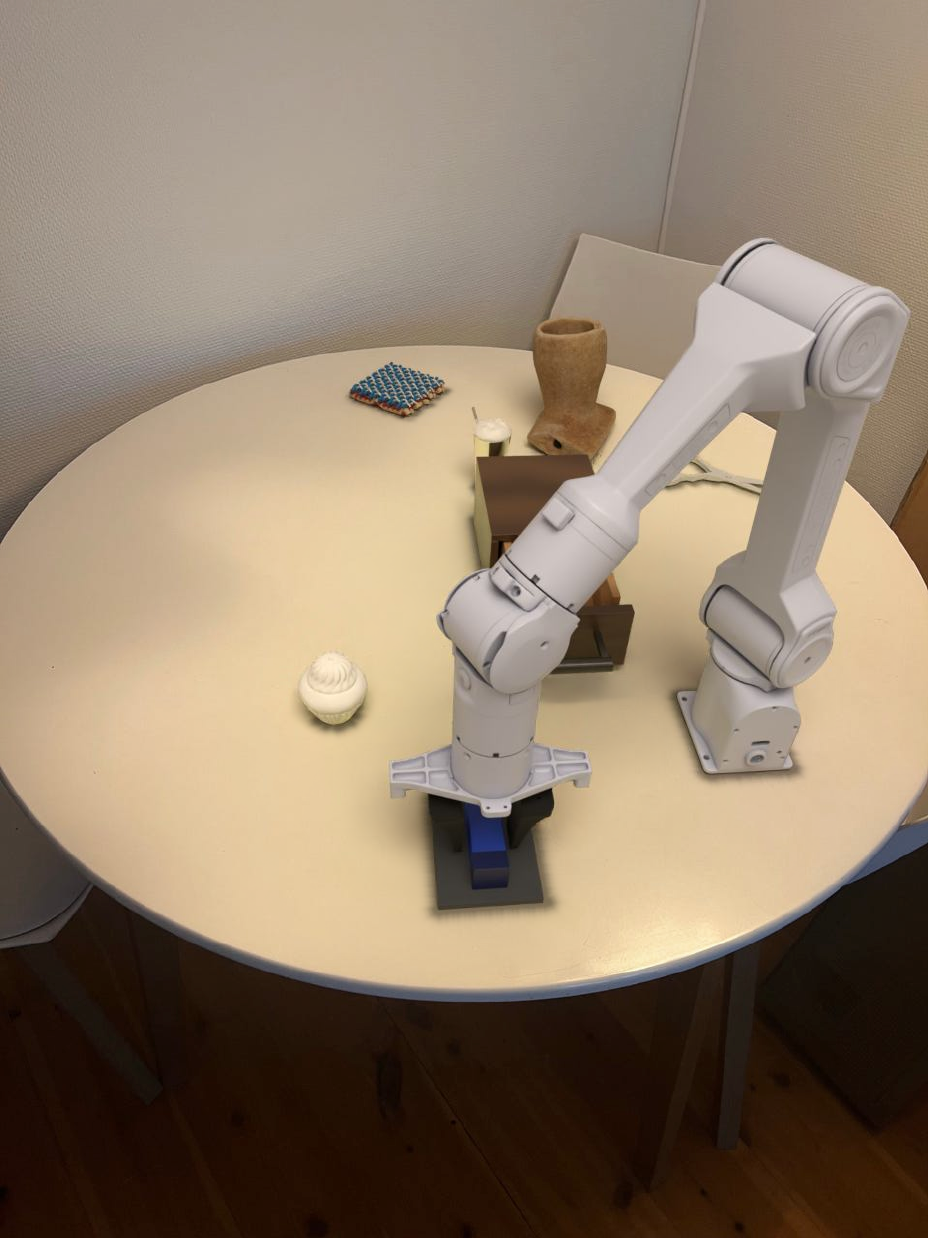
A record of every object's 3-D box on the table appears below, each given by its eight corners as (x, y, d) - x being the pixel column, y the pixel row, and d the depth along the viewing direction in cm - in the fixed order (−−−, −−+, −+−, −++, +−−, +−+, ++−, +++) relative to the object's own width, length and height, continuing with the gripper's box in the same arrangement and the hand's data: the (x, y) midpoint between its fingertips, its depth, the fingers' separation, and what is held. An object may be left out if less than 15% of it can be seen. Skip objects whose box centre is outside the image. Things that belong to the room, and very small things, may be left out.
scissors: (657, 436, 118) (810, 474, 112) (656, 442, 118) (809, 479, 112) (634, 475, 110) (797, 517, 104) (633, 481, 111) (795, 523, 105)
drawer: (635, 700, 82) (647, 648, 77) (513, 706, 81) (519, 653, 76) (595, 576, 95) (604, 525, 91) (490, 580, 94) (494, 528, 90)
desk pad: (543, 902, 67) (543, 898, 67) (438, 910, 66) (438, 906, 66) (524, 795, 75) (524, 791, 74) (429, 801, 74) (429, 796, 73)
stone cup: (542, 401, 126) (552, 297, 116) (623, 420, 122) (640, 314, 112) (502, 451, 115) (510, 342, 105) (589, 473, 112) (606, 362, 102)
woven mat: (448, 390, 127) (449, 377, 126) (406, 420, 120) (406, 407, 119) (390, 371, 131) (389, 358, 130) (345, 399, 124) (345, 386, 123)
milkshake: (480, 471, 112) (484, 399, 105) (514, 487, 109) (520, 415, 102) (458, 486, 109) (460, 413, 102) (492, 503, 106) (496, 429, 100)
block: (496, 809, 73) (498, 789, 71) (507, 887, 67) (509, 868, 66) (463, 811, 72) (464, 791, 71) (472, 890, 67) (473, 870, 65)
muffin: (372, 689, 83) (369, 635, 78) (364, 739, 79) (361, 685, 74) (307, 685, 83) (300, 631, 78) (295, 735, 79) (287, 681, 74)
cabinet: (604, 596, 94) (616, 531, 88) (487, 600, 93) (491, 535, 87) (578, 516, 105) (587, 453, 99) (473, 519, 104) (476, 456, 98)
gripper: (389, 778, 57) (394, 891, 66) (610, 766, 58) (584, 878, 67) (386, 697, 62) (391, 812, 71) (589, 688, 63) (568, 802, 72)
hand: (484, 839), depth 70 cm, fingers open, 4 cm apart
